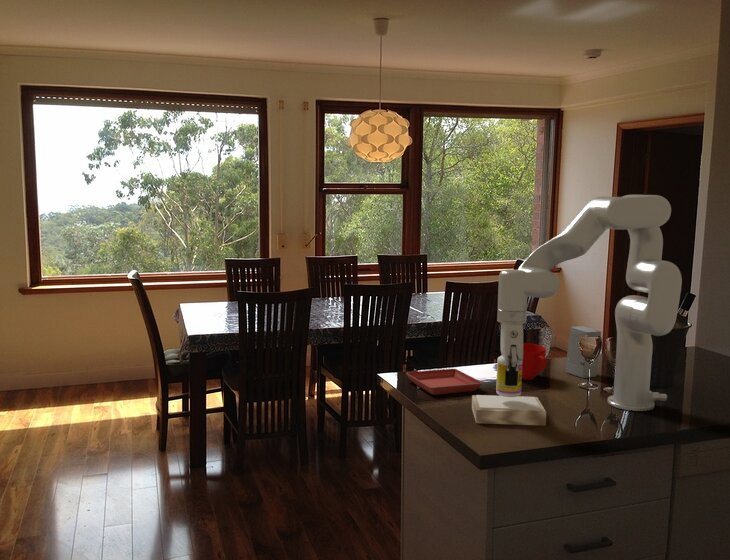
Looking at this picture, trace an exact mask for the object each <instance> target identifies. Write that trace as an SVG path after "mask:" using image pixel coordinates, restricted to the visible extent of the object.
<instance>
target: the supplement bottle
mask: <svg viewBox="0 0 730 560" xmlns="http://www.w3.org/2000/svg"><path fill="white" fill-rule="evenodd" d="M510 351H511V349H510ZM501 352H502V349H501V348H500V353H501ZM517 356H518V355H517ZM508 359H511V357H508ZM517 360H518V384H517V386H506V385H505V370H507V363H506V360H505V359H504V358H503V354H501V355H500V356H498V357H497V360H496V363H497V364H496V365H497V366H496V384H495V386H496V387H495V391H496V394H497V396H504V397H517V396H521V395H522V384H523V383H522V382H523V381H522V380H523V379H522V361H520V360H519V359H518V357H517ZM510 363H511V362H509V364H510Z"/></svg>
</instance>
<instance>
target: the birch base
mask: <svg viewBox="0 0 730 560" xmlns="http://www.w3.org/2000/svg"><path fill="white" fill-rule="evenodd" d="M471 410H472V414H473V418H474V420H475V424H485V425H486V424H491V425H516V426H519V425H520V426H546V425H547V411H546V410H545V408H544V406H543V405H542V403H541V401H540V400H539V397H537V396H523V395H522V396H521V395H520V396H517V397H504V396H500V395H486V394H485V395H482V394H476V395H475V394H474V395H471Z"/></svg>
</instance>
